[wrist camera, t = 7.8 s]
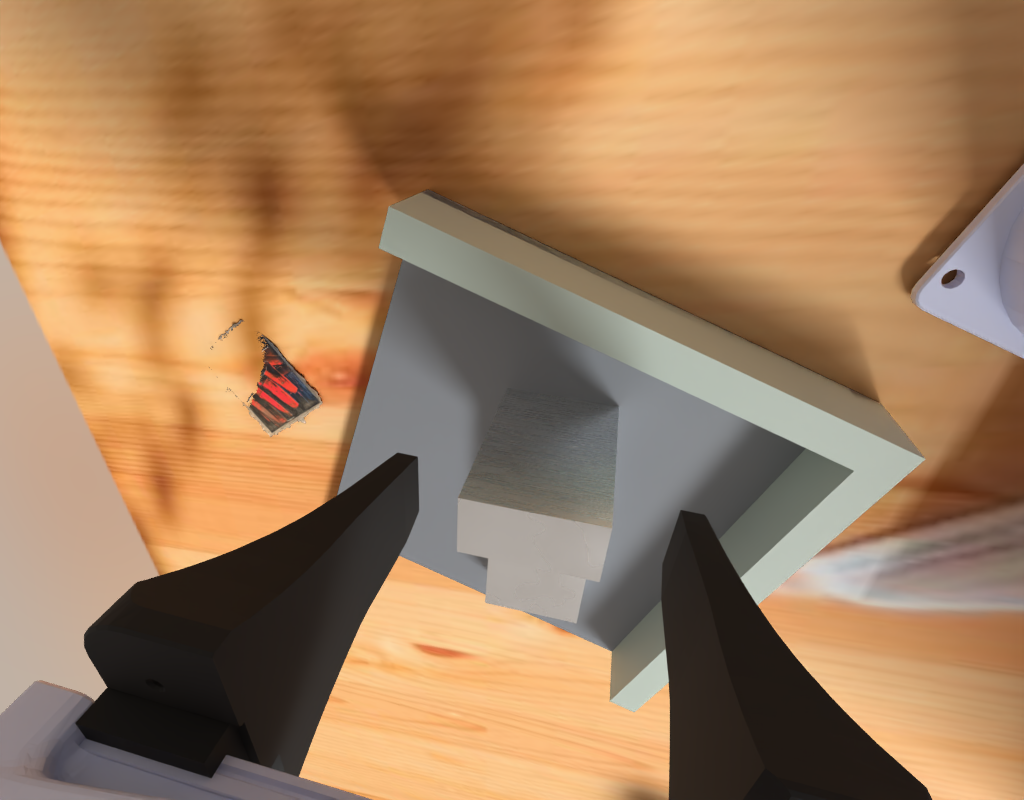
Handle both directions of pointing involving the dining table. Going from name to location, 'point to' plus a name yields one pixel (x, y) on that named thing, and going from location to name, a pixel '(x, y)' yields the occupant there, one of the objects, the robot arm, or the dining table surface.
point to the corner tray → (641, 425)
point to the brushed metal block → (541, 501)
